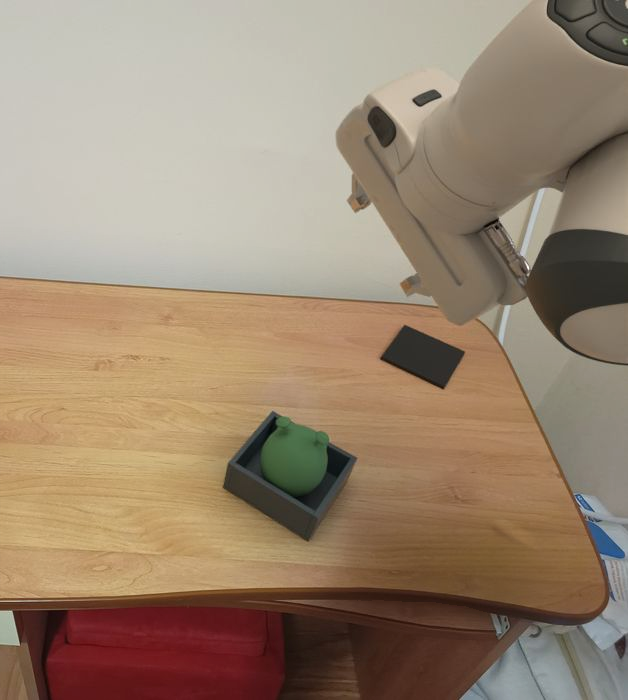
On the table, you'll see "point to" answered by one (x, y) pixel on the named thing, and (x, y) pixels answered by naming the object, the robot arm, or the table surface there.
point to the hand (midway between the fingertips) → (382, 245)
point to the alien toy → (294, 458)
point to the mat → (423, 356)
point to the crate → (273, 502)
